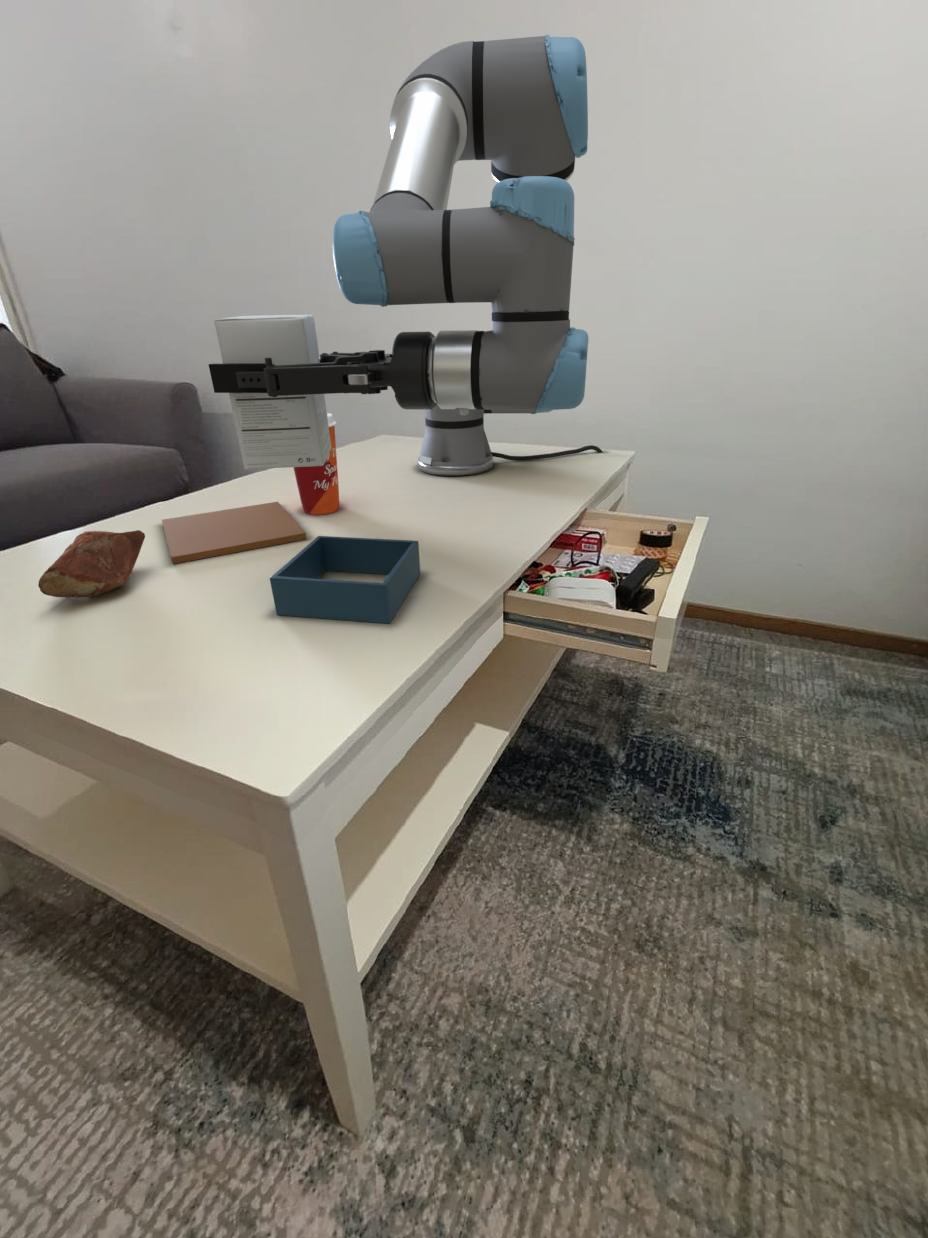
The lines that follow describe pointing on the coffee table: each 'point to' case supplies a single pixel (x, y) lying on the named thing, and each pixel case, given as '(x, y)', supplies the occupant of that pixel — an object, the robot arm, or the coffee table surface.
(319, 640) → the coffee table surface
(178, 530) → the cork mat
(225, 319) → the white product box
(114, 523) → the coffee table surface
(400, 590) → the crate
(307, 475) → the coffee cup
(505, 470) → the coffee table surface
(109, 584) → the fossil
